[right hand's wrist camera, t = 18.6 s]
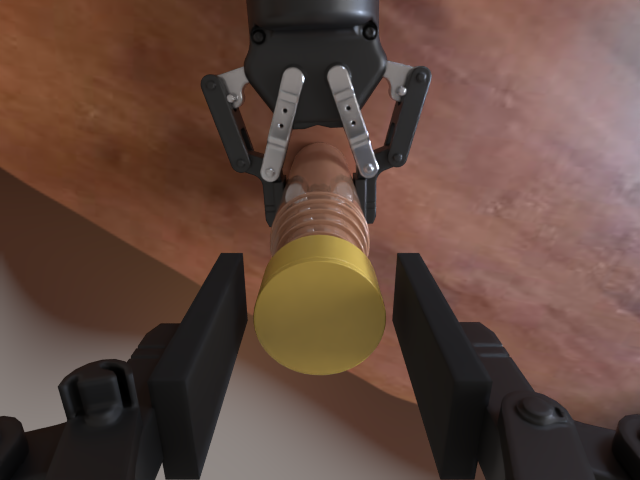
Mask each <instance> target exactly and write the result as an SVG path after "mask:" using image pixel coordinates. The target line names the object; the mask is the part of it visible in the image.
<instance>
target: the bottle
mask: <svg viewBox="0 0 640 480" xmlns="http://www.w3.org/2000/svg"><path fill="white" fill-rule="evenodd" d="M310 235H329V236H334V237H338V238H341V239H344V240H346V241H348V242H350V243H352V244H353V245H355V246H356V247H357V248H359V249H360V250H361V251H362V252H363V253H364V254H365V255H366V257H367V258H368V254H369V247H370V244H369V229H368V225H367V222H366V219H365V216H364V213H363V210H362V207H361V204H360V201H359V198H358V195H357V192H356V188H355V185H354V182H353V179H352V176H351V173H350V170H349V167H348V164H347V161H346V159H345V157H344V155H343V154H342V153H341V151H340V150H338V149H337V148H336V147H334V146H332V145H330V144H327V143H313V144H310V145H308V146H306V147H304V148H303V149H301V150H300V151H299V152H298V154H297V155H296V157H295V159H294V161H293V164H292V167H291V170H290V173H289V176H288V179H287V182H286V185H285V188H284V191H283V194H282V197H281V200H280V203H279V206H278V209H277V212H276V215H275V218H274V221H273V224H272V227H271V233H270V250H271V255H272V257H273V256H274V255H275V253H276V252H277V251H279V250H280V249H281V248H282V247H283V246H285V245H286V244H288V243H290V242H292V241H293V240H296V239H299V238H301V237H305V236H310Z"/></svg>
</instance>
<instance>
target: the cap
mask: <svg viewBox="0 0 640 480" xmlns="http://www.w3.org/2000/svg"><path fill="white" fill-rule="evenodd" d="M253 318H254V327H255V332H256V335H257V337H258V339H259V341H260V343H261V345H262V346H263V348H264V349H265V351H266V352H267V353H268V354H269V355H270V356H271V357H272V358H273V359H275V360H276V361H277V362H278V363H280V364H282V365H283V366H285V367H287V368H289V369H291V370H294V371H297V372H300V373H305V374H311V375H329V374H334V373H339V372H342V371H346V370H348V369H350V368H353V367H354V366H356V365H358V364H360V363H361V362H362V361H364V360H365V359H366V358H367V357H368V356H369V355H370V354H371V353H372V352H373V351H374V350H375V348H376V347H377V345H378V344H379V342H380V340H381V338H382V336H383V333H384V329H385V323H386V311H385V307H384V302H383V299H382V295H381V292H380V288H379V285H378V281H377V278H376V274H375V271H374V269H373V266H372V264H371V262H370V261H369V259H368V258H367V257H366V255H365V254H364V253H363V252H362V251H361V250H360V249H359V248H357V247H356V246H355V245H353V244H352V243H350V242H348V241H346V240H344V239H341V238H338V237H334V236H329V235H310V236H305V237H301V238H299V239H296V240H293V241H292V242H290V243H288V244H286V245H285V246H283V247H282V248H281V249H280V250H279V251H277V252H276V253H275V255H274V256H273V257H272V258H271V260H270V262H269V263H268V265H267V267H266V270H265V273H264V276H263V280H262V283H261V286H260V290H259V293H258V297H257V300H256V304H255V308H254V315H253Z"/></svg>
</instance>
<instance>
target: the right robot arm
mask: <svg viewBox="0 0 640 480" xmlns="http://www.w3.org/2000/svg"><path fill="white" fill-rule="evenodd" d="M247 321H248V319H247V305H246V292H245V278H244V265H243V253H221V254H220V256H219V257H218V259H217V261H216V263H215V264H214V266H213V268H212V270H211V271H210V273H209V275H208V277H207V278H206V280H205V282H204V283H203V285H202V287H201V289H200V290H199V292H198V294H197V296H196V297H195V299H194V301H193V303H192V304H191V306H190V308H189V310H188V311H187V313H186V315H185V316H184V318H183V320H182V322H181V323H177V324H175V323H171V324H170V323H166V324H165V323H161V324H159V325H158V326H157V327H155V328H154V329H152V330H151V331H150V332H148V333H147V334H146V335H145V337H144V338H143V340H142V341H141V342H140V344H139V345H138V348H137V349H136V350H135V351H134V353H133V354H132V355H131V359H129V360H128V361H127V363H126V362H125V361H121V360H117V359H106V360H99V361H96V362H92V363H88V364H86V365H84V366H82V367H80V368H78V369H75V370H74V371H73V372H71V373H70V374H69V375H67V376H66V377H65V378H64V379H63V380H62V382H61V383H60V384H59V386H58V389H59V392H60V396H61V400H62V403H63V407H64V410H65V413H66V417H67V422H65V423H61V424H58V425H54V426H50V427H46V428H41V429H37V430H33V431H29V432H24V430H23V427H22V424H21V422H20V421H18V420H17V419H16V418H15V417H8V416H0V480H155V478H156V476H157V474H158V471H159V469H160V466H161V464H162V463H163V468H164V473H165V479H166V480H199V479H200V476H201V473H202V469H203V466H204V463H205V459H206V456H207V453H208V450H209V446H210V443H211V440H212V436H213V433H214V430H215V426H216V423H217V420H218V417H219V413H220V410H221V407H222V403H223V400H224V397H225V393H226V390H227V387H228V384H229V380H230V377H231V373H232V370H233V367H234V364H235V360H236V357H237V354H238V350H239V347H240V344H241V340H242V337H243V334H244V331H245V327H246V324H247ZM392 321H393V324H394V327H395V331H396V334H397V337H398V341H399V344H400V347H401V350H402V354H403V357H404V360H405V364H406V367H407V370H408V374H409V377H410V380H411V383H412V387H413V390H414V393H415V397H416V400H417V403H418V407H419V410H420V413H421V416H422V420H423V423H424V426H425V430H426V433H427V436H428V440H429V443H430V446H431V449H432V453H433V456H434V459H435V463H436V466H437V469H438V473H439V476H440V479H441V480H474V479H475V473H476V468H477V463H478V462H479V464H480V467H481V469H482V471H483V474H484V476H485V479H486V480H640V415H639V414H635V415H628V416H625V417H624V418H622V419H621V420H620V421H619V424H618V427H617V429H616V431H615V430H610V429H606V428H602V427H597V426H593V425H589V424H584V423H581V422H578V421H574V420H573V419H572V418H571V416H570V415H569V413H568V411H567V410H566V409H565V408H564V407H563V406H561V405H560V404H559V403H558V402H557V401H555V400H553V399H551V398H549V397H547V396H545V395H543V394H540V393H537V392H535V391H534V390H533V388H532V387H531V385H530V384H529V383H528V381H527V380H526V378H525V377H524V375H523V374H522V372H521V371H520V370H519V368H518V367H517V365H516V364H515V362H514V361H513V359H512V358H511V357H509V354H508V352H507V351H506V349H505V348H504V347H502V344H501V342H500V341H499V339H498V338H497V336H496V335H495V333H494V332H492V331H491V330H490V329H488V328H487V327H485V326H484V325H483V324H481V323H480V322H458V320H457V318H456V316H455V315H454V313H453V311H452V310H451V308H450V306H449V304H448V303H447V301H446V299H445V297H444V296H443V294H442V292H441V290H440V289H439V287H438V285H437V283H436V282H435V280H434V278H433V277H432V275H431V273H430V271H429V270H428V268H427V266H426V264H425V263H424V261H423V259H422V257H421V256H420V254H419V253H397V265H396V278H395V292H394V305H393V319H392Z"/></svg>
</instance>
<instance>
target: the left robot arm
mask: <svg viewBox="0 0 640 480" xmlns="http://www.w3.org/2000/svg"><path fill="white" fill-rule="evenodd" d="M246 1H247V12H248V23H249V34H250V45H249V50H248V53H247V56H246V58H245V61H244V67H241V68H238V69H235V70H232V71H229V72H226V73H223V74H221V75H211V74H209V75H206V76H204V77H203V78H202V80H201V89H202V91H203V94H204V96H205V99H206V101H207V104H208V107H209V109H210V112H211V114H212V117H213V119H214V122H215V125H216V127H217V130H218V132H219V135H220V137H221V140H222V142H223V145H224V148H225V150H226V153H227V155H228V158H229V160H230V163H231V166H232V168H233V169H234V170H235V171H237V172H239V173H243V172H246V173H249V174H252V175H255V176H257V177H258V178H259V179H260V180H261V181H262V184H263V193H264V204H265V215H266V221H267V223H268V225H269V227H272V224H273V221H274V218H275V215H276V212H277V209H278V206H279V203H280V200H281V197H282V194H283V191H284V188H285V185H286V175H283V171H282V168H283V164H284V160H285V156H286V153H287V149H288V145H289V142H290V138H291V135H292V131H293V129H306V128H309V127H312V126H315V125H321V126H325V127H329V128H338V127H343V128H344V131H345V134H346V136H347V139H348V142H349V145H350V147H351V150H352V153H353V156H354V159H355V162H356V173H353V182H354V185H355V188H356V192H357V195H358V198H359V201H360V204H361V207H362V210H363V213H364V216H365V219H366V222H367V224H371V223H373V222H374V220H375V217H376V180H377V177H378V175H379V174H380V173H381V172H382V171H384V170H387V169H389V168H392V167H401V166H402V165H404V164H405V162H406V160H407V157H408V154H409V151H410V147H411V144H412V141H413V137H414V134H415V131H416V128H417V124H418V121H419V118H420V114H421V111H422V108H423V105H424V101H425V98H426V95H427V91H428V88H429V85H430V81H431V77H432V76H431V72H430V70H429V69H428V68H427V67H424V66H415V67H411V66H407V65H403V64H399V63H395V62H391V61H387V57H386V54H385V52H384V50H383V48H382V46H381V43H380V39H379V0H246ZM382 78H385V79H386V80H387V82H388V84H389V90H388V93H389V96H390V98H391V99H393V100H395V101H396V104H395V107H394V111H393V114H392V118H391V122H390V125H389V129H388V132H387V136H386V139H385V143H384V146H383V147H380V148H378V149H375V150H373V149H372V146H371V143H370V140H369V135H368V132H367V129H366V126H365V123H364V120H363V117H362V114H361V111H360V110H361V109H362V107H363V106H364V104H365V103H366V101H367V100H368V98H369V97H370V95H371V94H372V92H373V91H374V89H375V88H376V87H377V85H378V84H379V82H380V81H381V79H382ZM248 83H250V84H251V86H252V87H253V88H254V89H255V91H256V92H257V93H258V94H259V96H260V97H261V98H262V99H263V101H264V102H265V103H266V104H267V106H268V107H269V108H270V110H271V111H272V112H273V113H274V115H273V119H272V123H271V127H270V131H269V135H268V140H267V146H266V150H265V154H262V153H258V152H255V151H254V149H253V146H252V143H251V141H250V138H249V135H248V132H247V130H246V127H245V124H244V122H243V119H242V116H241V113H240V111H239V108H238V107H240V106H242V105H243V104H244V102H245V94H244V90H245V87H246V85H247V84H248Z"/></svg>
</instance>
